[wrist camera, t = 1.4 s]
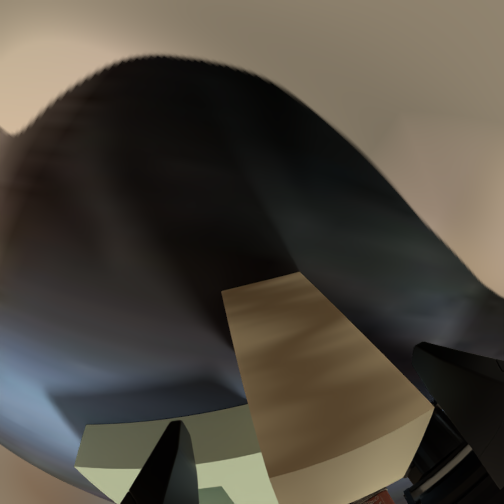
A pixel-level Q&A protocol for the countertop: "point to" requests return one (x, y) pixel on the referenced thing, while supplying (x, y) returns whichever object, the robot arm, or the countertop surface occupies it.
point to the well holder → (205, 453)
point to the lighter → (376, 498)
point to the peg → (320, 395)
